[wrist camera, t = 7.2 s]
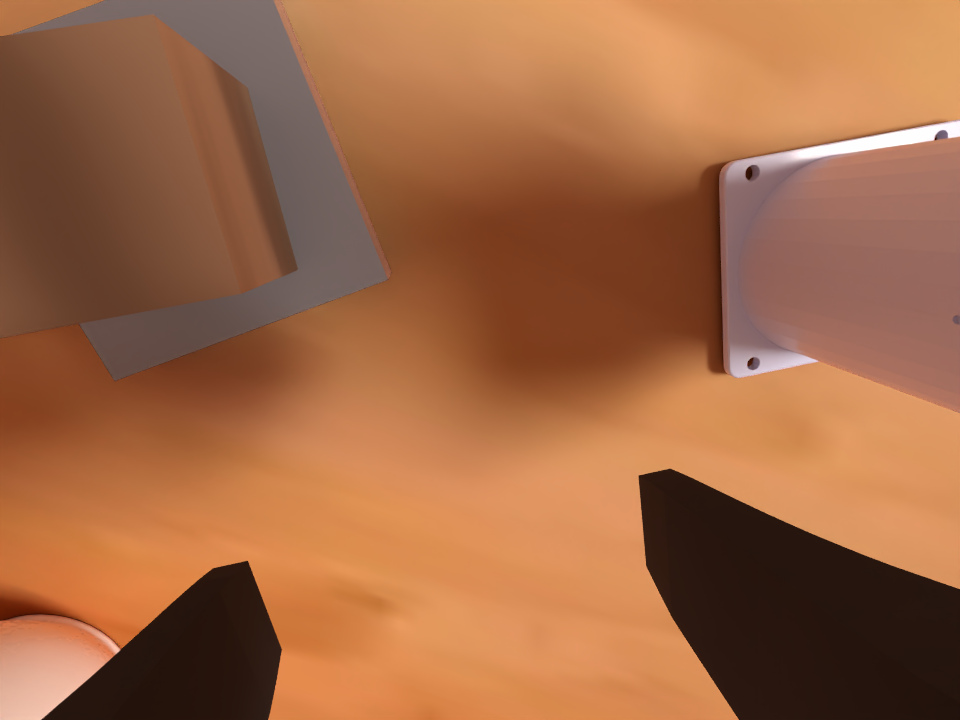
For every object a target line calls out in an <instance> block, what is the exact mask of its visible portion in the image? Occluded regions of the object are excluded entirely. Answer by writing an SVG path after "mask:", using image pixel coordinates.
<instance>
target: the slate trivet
mask: <svg viewBox="0 0 960 720" xmlns="http://www.w3.org/2000/svg"><path fill="white" fill-rule="evenodd" d="M152 14H153V15H155V16H156V17H157V18H158V19H160V20H161V21H162V22H164V23H165V24H166V25H167V26H169V27H170V28H171V29H173V30H174V31H175V32H176V33H178V34H179V35H180V36H182V37H183V38H184V39H186V40H187V41H188V42H189V43H191V44H192V45H193V46H195V47H196V48H197V49H198V50H200V51H201V52H202V53H204V54H205V55H206V56H207V57H209V58H210V59H211V60H213V61H214V62H215V63H217V64H218V65H219V66H220V67H222V68H223V69H224V70H226V71H227V72H228V73H229V74H231V75H232V76H233V77H235V78H236V79H237V80H238V81H240V82H241V83H242V84H244V85H245V86H246V87H247V88H248V91H249V95H250V99H251V102H252V106H253V109H254V113H255V116H256V120H257V124H258V127H259V131H260V134H261V138H262V142H263V145H264V149H265V152H266V156H267V159H268V163H269V167H270V170H271V174H272V177H273V181H274V185H275V188H276V192H277V195H278V199H279V203H280V206H281V210H282V213H283V217H284V220H285V224H286V228H287V231H288V235H289V238H290V242H291V246H292V249H293V253H294V256H295V260H296V264H297V267H298V270H297V271H294V272H292V273H290V274H287V275H285V276H283V277H280V278H278V279H275V280H273V281H271V282H268V283H266V284H263V285H261V286H259V287H256V288H254V289H252V290H249V291H247V292H244V293H242V294H237V295H232V296H226V297H221V298H216V299H210V300H205V301H199V302H194V303H189V304H183V305H178V306H172V307H167V308H162V309H156V310H151V311H145V312H140V313H135V314H129V315H124V316H118V317H113V318H108V319H102V320H97V321H91V322H86V323H81V324H79V325H80V327H81V328H82V330H83V332H84V333H85V335H86V336H87V338H88V339H89V341H90V343H91V344H92V346H93V347H94V349H95V351H96V352H97V354H98V355H99V357H100V359H101V360H102V362H103V363H104V365H105V367H106V368H107V370H108V371H109V373H110V375H111V376H112V378H113V379H114V381H116V380H119V379H122V378H124V377H127V376H130V375H132V374H135V373H138V372H141V371H143V370H146V369H149V368H151V367H154V366H157V365H159V364H162V363H165V362H167V361H170V360H173V359H176V358H178V357H181V356H184V355H186V354H189V353H192V352H194V351H197V350H200V349H203V348H205V347H208V346H211V345H213V344H216V343H219V342H221V341H224V340H227V339H230V338H232V337H235V336H238V335H240V334H243V333H246V332H248V331H251V330H254V329H257V328H259V327H262V326H265V325H267V324H270V323H273V322H275V321H278V320H281V319H284V318H286V317H289V316H292V315H294V314H297V313H300V312H302V311H305V310H308V309H311V308H313V307H316V306H319V305H321V304H324V303H327V302H329V301H332V300H335V299H338V298H340V297H343V296H346V295H348V294H351V293H354V292H356V291H359V290H362V289H365V288H367V287H370V286H373V285H375V284H378V283H381V282H383V281H386V280H388V279H389V277H390V275H391V274H392V272H391V269H390V267H389V265H388V262H387V260H386V257H385V255H384V252H383V250H382V247H381V245H380V242H379V240H378V237H377V235H376V233H375V230H374V228H373V225H372V223H371V220H370V218H369V215H368V213H367V210H366V208H365V205H364V203H363V201H362V198H361V196H360V193H359V191H358V188H357V186H356V183H355V181H354V178H353V176H352V173H351V171H350V169H349V166H348V164H347V161H346V159H345V156H344V154H343V151H342V149H341V146H340V144H339V141H338V139H337V136H336V134H335V132H334V129H333V127H332V124H331V122H330V119H329V117H328V114H327V112H326V109H325V107H324V104H323V102H322V100H321V97H320V95H319V92H318V90H317V87H316V85H315V82H314V80H313V77H312V75H311V72H310V70H309V68H308V65H307V63H306V60H305V58H304V55H303V53H302V50H301V48H300V45H299V43H298V40H297V38H296V36H295V33H294V31H293V28H292V26H291V23H290V21H289V18H288V16H287V13H286V11H285V8H284V6H283V4H282V1H281V0H105V1H102V2H99V3H97V4H94V5H91V6H88V7H86V8H83V9H80V10H77V11H75V12H72V13H69V14H67V15H64V16H61V17H58V18H56V19H53V20H50V21H47V22H45V23H42V24H39V25H36V26H34V27H31V28H28V29H25V30H23V31H20V32H17V33H14V34H21V33H28V32H35V31H42V30H48V29H55V28H62V27H69V26H76V25H83V24H90V23H97V22H104V21H110V20H117V19H124V18H131V17H138V16H145V15H152ZM14 34H12V35H14Z"/></svg>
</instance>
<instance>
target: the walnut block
mask: <svg viewBox="0 0 960 720" xmlns="http://www.w3.org/2000/svg"><path fill="white" fill-rule="evenodd" d="M297 270H298V267H297V264H296V260H295V256H294V253H293V249H292V246H291V242H290V238H289V235H288V231H287V228H286V224H285V220H284V217H283V213H282V210H281V206H280V203H279V199H278V195H277V192H276V188H275V185H274V181H273V177H272V174H271V170H270V167H269V163H268V159H267V156H266V152H265V149H264V145H263V142H262V138H261V134H260V131H259V127H258V124H257V120H256V116H255V113H254V109H253V106H252V102H251V99H250V95H249V91H248V88H247V87H246V86H245V85H244V84H242V83H241V82H240V81H238V80H237V79H236V78H235V77H233V76H232V75H231V74H229V73H228V72H227V71H226V70H224V69H223V68H222V67H220V66H219V65H218V64H217V63H215V62H214V61H213V60H211V59H210V58H209V57H207V56H206V55H205V54H204V53H202V52H201V51H200V50H198V49H197V48H196V47H195V46H193V45H192V44H191V43H189V42H188V41H187V40H186V39H184V38H183V37H182V36H180V35H179V34H178V33H176V32H175V31H174V30H173V29H171V28H170V27H169V26H167V25H166V24H165V23H164V22H162V21H161V20H160V19H158V18H157V17H156V16H155V15H153V14H152V15H145V16H138V17H131V18H124V19H117V20H110V21H104V22H97V23H90V24H83V25H76V26H69V27H62V28H55V29H48V30H42V31H35V32H28V33H21V34H14V35H7V36H0V338H5V337H10V336H16V335H21V334H26V333H32V332H37V331H43V330H48V329H53V328H59V327H64V326H70V325H75V324H81V323H86V322H91V321H97V320H102V319H108V318H113V317H118V316H124V315H129V314H135V313H140V312H145V311H151V310H156V309H162V308H167V307H172V306H178V305H183V304H189V303H194V302H199V301H205V300H210V299H216V298H221V297H226V296H232V295H237V294H242V293H244V292H247V291H249V290H252V289H254V288H256V287H259V286H261V285H263V284H266V283H268V282H271V281H273V280H275V279H278V278H280V277H283V276H285V275H287V274H290V273H292V272H294V271H297Z"/></svg>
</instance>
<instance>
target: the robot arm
mask: <svg viewBox="0 0 960 720" xmlns="http://www.w3.org/2000/svg"><path fill="white" fill-rule="evenodd" d="M935 135H937V140H934V138H935ZM748 167H750V168H751V169H752V172H753V173H752V177H751V178H750V180H748V179H747V178H746V176H745V173H746V169H747V168H748ZM719 195H720V236H721V276H722V317H723V357H724V369H725V371H726V373H727V374H729V375H731V376H733V377H735V378H742V377H747V376H752V375H757V374H761V373H766V372H771V371H776V370H780V369H785V368H790V367H795V366H800V365H804V364H809V363H814V362H819V361H820V362H823V363H826V364H828V365H831V366H834V367H836V368H839V369H842V370H845V371H847V372H850V373H853V374H855V375H858V376H861V377H864V378H866V379H869V380H872V381H874V382H877V383H880V384H883V385H885V386H888V387H891V388H893V389H896V390H899V391H902V392H904V393H907V394H910V395H912V396H915V397H918V398H921V399H923V400H926V401H929V402H931V403H934V404H937V405H940V406H942V407H945V408H948V409H950V410H953V411H956V412H959V413H960V120H955V121H949V122H944V123H938V124H933V125H927V126H922V127H916V128H911V129H905V130H900V131H894V132H889V133H883V134H878V135H873V136H867V137H862V138H856V139H851V140H845V141H840V142H834V143H829V144H823V145H818V146H812V147H807V148H801V149H796V150H790V151H785V152H779V153H774V154H769V155H763V156H758V157H752V158H747V159H741V160H736V161H731V162H729V163H727V164H726V165H725V166H724V167H723V168H722V170H721V172H720V176H719ZM751 358H753V359H754V360H753V363H752V364H751V365H750V366H748V367H747V363H748V361H749V360H750V359H751ZM639 486H640V498H641V510H642V521H643V533H644V544H645V556H646V566H647V568H648V570H649V572H650V574H651V576H652V579H653V581H654V583H655V585H656V587H657V589H658V591H659V593H660V595H661V597H662V599H663V601H664V603H665V604H666V606H667V608H668V610H669V612H670V614H671V616H672V618H673V620H674V621H675V623H676V624H677V626H678V627H679V629H680V631H681V632H682V634H683V635H684V637H685V638H686V640H687V641H688V643H689V644H690V646H691V647H692V649H693V651H694V652H695V654H696V655H697V657H698V658H699V660H700V661H701V663H702V664H703V666H704V667H705V669H706V670H707V672H708V673H709V675H710V676H711V678H712V679H713V681H714V683H715V684H716V686H717V687H718V689H719V690H720V692H721V693H722V695H723V696H724V698H725V699H726V701H727V702H728V704H729V705H730V707H731V708H732V710H733V711H734V713H735V714H736V716H737V717H738V719H739V720H960V589H957V588H954V587H952V586H949V585H946V584H943V583H940V582H937V581H934V580H931V579H928V578H926V577H923V576H920V575H917V574H914V573H911V572H908V571H905V570H903V569H900V568H897V567H894V566H891V565H888V564H886V563H883V562H881V561H878V560H875V559H873V558H870V557H867V556H865V555H862V554H860V553H857V552H855V551H852V550H850V549H847V548H845V547H842V546H840V545H838V544H835V543H833V542H830V541H828V540H825V539H823V538H821V537H818V536H816V535H813V534H811V533H809V532H806V531H804V530H802V529H800V528H797V527H795V526H793V525H790V524H788V523H786V522H784V521H781V520H779V519H777V518H775V517H773V516H770V515H768V514H766V513H764V512H762V511H760V510H758V509H755V508H753V507H751V506H749V505H747V504H745V503H743V502H741V501H738V500H736V499H734V498H732V497H730V496H728V495H726V494H724V493H722V492H720V491H718V490H716V489H714V488H711V487H709V486H707V485H705V484H703V483H701V482H699V481H697V480H695V479H693V478H690V477H688V476H686V475H684V474H682V473H679V472H677V471H675V470H672V469H667V470H662V471H657V472H653V473H648V474H644V475H639ZM281 651H282V649H281V646H280V644H279V641H278V639H277V636H276V633H275V631H274V628H273V626H272V623H271V620H270V618H269V615H268V612H267V610H266V607H265V605H264V602H263V599H262V597H261V594H260V592H259V589H258V586H257V584H256V581H255V578H254V576H253V573H252V571H251V568H250V565H249V563H248V561H245V562H240V563H236V564H231V565H226V566H222V567H217V568H213V569H212V570H211V571H209V572H208V573H207V574H205V575H204V576H203V577H202V578H200V579H199V580H198V581H197V582H196V583H194V584H193V585H192V586H191V587H190V588H189V589H187V590H186V591H185V592H184V593H183V594H182V595H181V596H180V597H178V598H177V599H176V600H175V601H174V602H173V603H172V604H171V605H170V606H168V607H167V608H166V609H165V610H164V611H163V612H162V613H161V614H160V615H159V616H157V617H156V618H155V619H154V620H153V621H152V622H151V623H150V624H149V625H148V626H146V627H145V628H144V629H143V630H142V631H141V632H140V633H139V634H138V635H137V636H135V637H134V638H133V639H132V640H131V641H130V642H129V643H128V644H127V645H125V646H124V647H123V648H122V649H121V650H120V651H119V652H118V653H117V654H116V655H114V656H113V657H112V658H111V659H110V660H109V661H108V662H107V663H106V664H105V665H103V666H102V667H101V668H100V669H99V670H98V671H97V672H96V673H95V674H93V675H92V676H91V677H90V678H89V679H88V680H87V681H85V682H84V683H83V684H82V685H81V686H80V687H78V688H77V689H76V690H75V691H74V692H73V693H71V694H70V695H69V696H68V697H67V698H66V699H64V700H63V701H62V702H61V703H60V704H59V705H57V706H56V707H55V708H54V709H53V710H52V711H51V712H49V713H48V714H47V715H46V716H45V717H44V718H42V719H41V720H268V718H269V714H270V710H271V705H272V700H273V695H274V690H275V685H276V680H277V674H278V668H279V662H280V656H281Z"/></svg>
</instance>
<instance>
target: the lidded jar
mask: <svg viewBox="0 0 960 720" xmlns="http://www.w3.org/2000/svg"><path fill="white" fill-rule="evenodd" d="M120 650H121V649H120V647H119V646H118V645H117V644H116V643H115V642H114V641H113V640H112V639H111V638H109V637H108V636H107V635H106V634H104V633H103V632H101V631H100V630H98V629H96V628H94V627H93V626H91V625H88V624H86V623H84V622H81V621H78V620H75V619H71V618H68V617H63V616H57V615H46V614H35V615H24V616H19V617H14V618H10V619H7V620H4V621H0V720H41V719H42V718H44V717H45V716H46V715H47V714H48V713H49V712H51V711H52V710H53V709H54V708H55V707H56V706H57V705H59V704H60V703H61V702H62V701H63V700H64V699H66V698H67V697H68V696H69V695H70V694H71V693H73V692H74V691H75V690H76V689H77V688H78V687H80V686H81V685H82V684H83V683H84V682H85V681H87V680H88V679H89V678H90V677H91V676H92V675H93V674H95V673H96V672H97V671H98V670H99V669H100V668H101V667H102V666H103V665H105V664H106V663H107V662H108V661H109V660H110V659H111V658H112V657H113V656H114V655H116V654H117V653H118V652H119V651H120Z"/></svg>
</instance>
